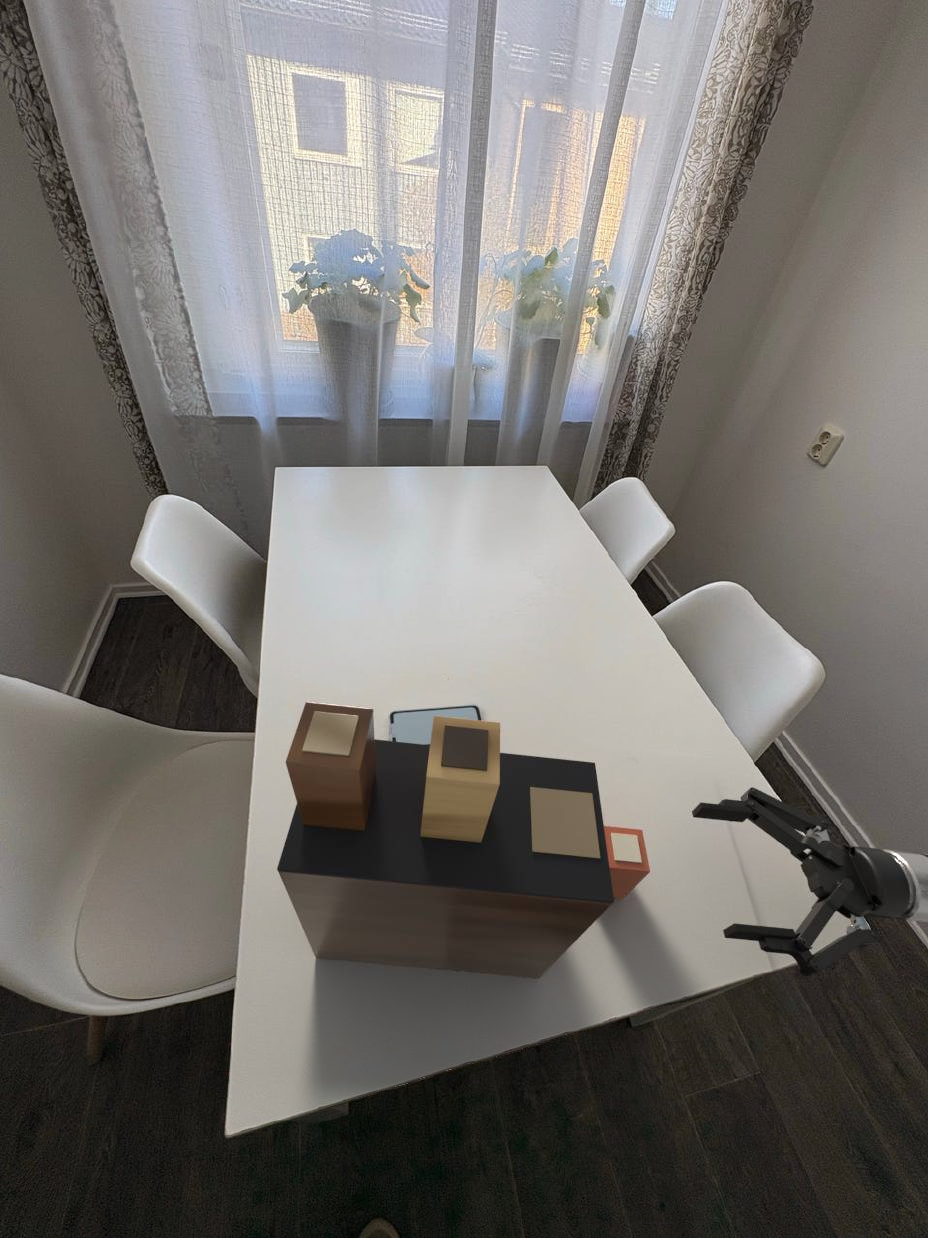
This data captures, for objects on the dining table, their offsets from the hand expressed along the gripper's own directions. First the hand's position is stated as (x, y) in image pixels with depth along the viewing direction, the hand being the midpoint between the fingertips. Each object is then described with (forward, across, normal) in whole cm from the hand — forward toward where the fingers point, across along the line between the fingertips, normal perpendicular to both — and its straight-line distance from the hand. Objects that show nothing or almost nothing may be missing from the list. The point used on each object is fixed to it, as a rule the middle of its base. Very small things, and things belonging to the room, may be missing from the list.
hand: (711, 865), depth 61 cm
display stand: (+32, -5, -10) cm, 34 cm away
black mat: (+32, -5, +18) cm, 37 cm away
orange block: (+10, +1, -10) cm, 14 cm away
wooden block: (+42, -5, +18) cm, 46 cm away
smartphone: (+34, +21, -10) cm, 41 cm away
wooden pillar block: (+32, -5, +18) cm, 37 cm away
